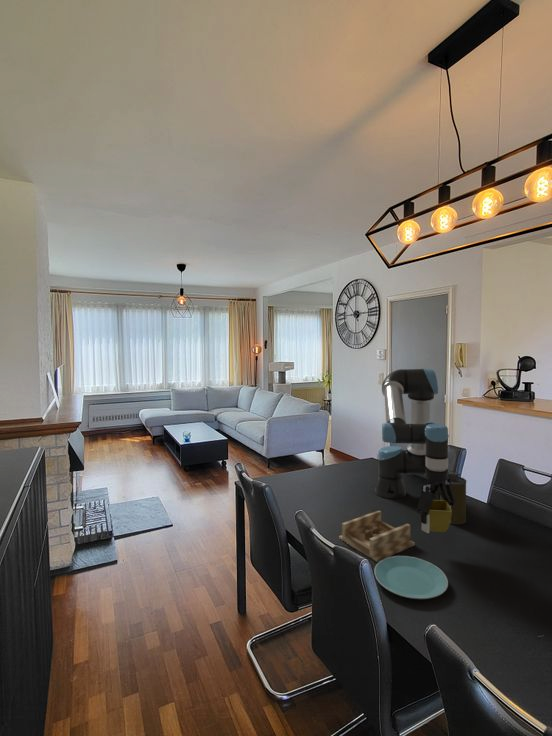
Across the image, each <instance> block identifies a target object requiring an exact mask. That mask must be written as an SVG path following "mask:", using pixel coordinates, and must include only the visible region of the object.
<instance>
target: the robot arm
mask: <svg viewBox="0 0 552 736" xmlns="http://www.w3.org/2000/svg"><path fill="white" fill-rule="evenodd" d="M381 394H382V395H383V396H384V406H385V408H384V409H385V419H386V420H385V421H386V422H385V423H382V425H381V431H382V432H381V439H382V441H383V443H388V444H408V445H407V446H406V450H405V449H403V447H401V446H397V445H389V446H384V447H382V448H380V449H379V450H378V456H377V461H378V465H377V466H378V468H377V469H378V477H377V480H376V485H375V487H374V493H375V494H376V495H378V497H382V498H385V499H391V500H392V499H394V500H395V499H402V498H405V496H407V489H406V486H405V483H404V479H403V475H420V476H425V478H426V480H427V484H426V485H425V484H422V485H420V488H421V490H420V496H419V499H418V504H417V508H416V513H417V514H419V515H420V519H421V520H420V522H421V531H423V532H425V533H427V534H429V533H430V532H431V531H430V515H429V514H428V512H429V510H430V507H431V505H432V502H433V500H435V499H436V498H437V496H439V493H440V495H441V497H442V498H443V500H445V501H447V502H448V504H449V506H450V508H451V505H452V506H454V503H453V502H455V497H454V493H453V489H452V486H451V479H450V478H448V474H449V470H448V468H449V438H450V437H449V436H450V435H449V428H448V427H447V426H446V425H445V424H440V423H435V422H433V421H430V419H431V416H430V415H431V401H433V400H434V399H435V395H438V394H439V385H438V379H437V375H436V372H435V371H434V370H433V369H430V368H429V369H428V368H412V369H411V368H409V369H406V368H405V369H402V368H400V369H396V370H394V371H391V372H390V373H389V374H388V375H387V376H386V377H385V378H384V379H383V382H382V383H381ZM403 395H407V398H408V400H410V423H407V421H406V412H405V407H404V400H403ZM450 523H451V522H450Z"/></svg>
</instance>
